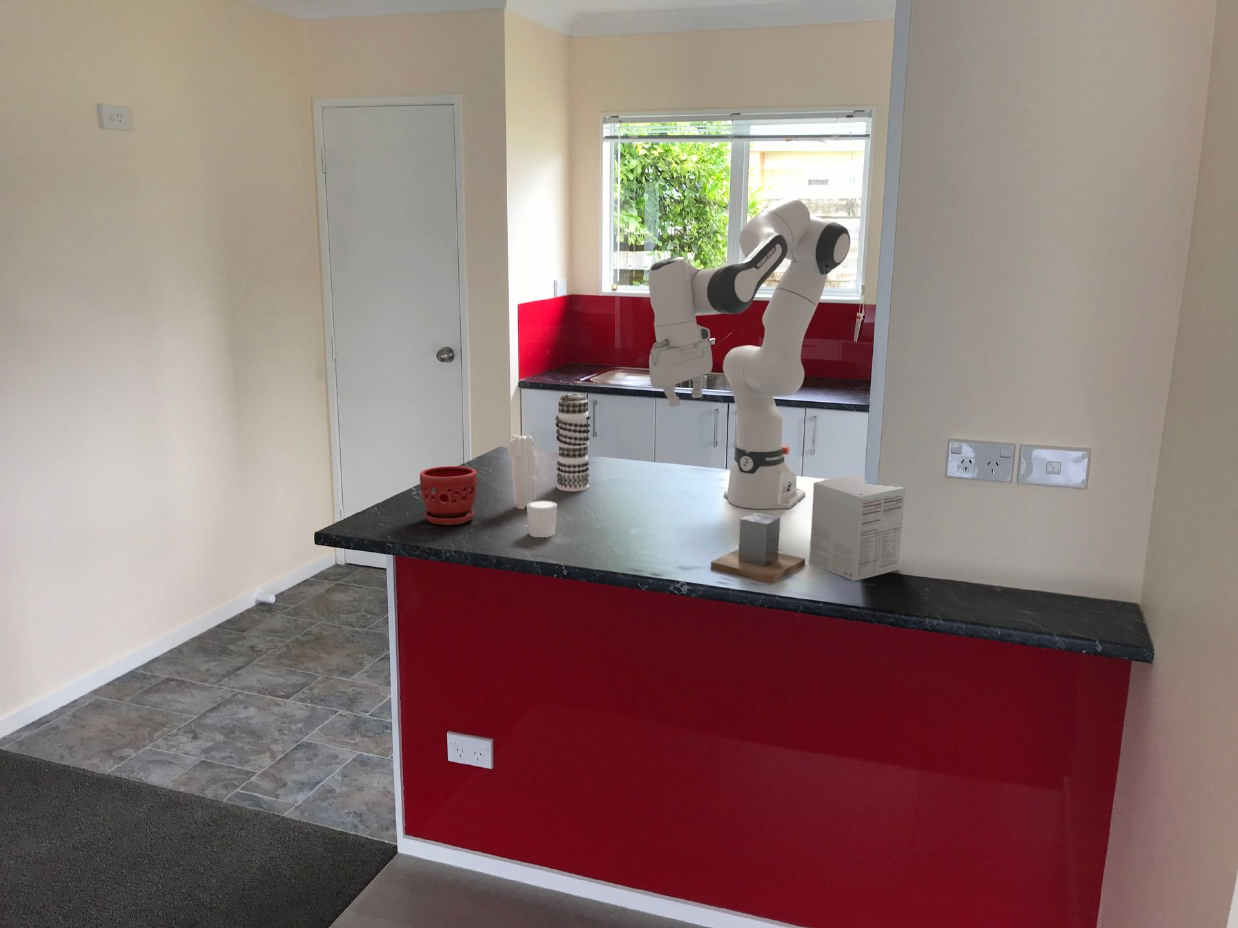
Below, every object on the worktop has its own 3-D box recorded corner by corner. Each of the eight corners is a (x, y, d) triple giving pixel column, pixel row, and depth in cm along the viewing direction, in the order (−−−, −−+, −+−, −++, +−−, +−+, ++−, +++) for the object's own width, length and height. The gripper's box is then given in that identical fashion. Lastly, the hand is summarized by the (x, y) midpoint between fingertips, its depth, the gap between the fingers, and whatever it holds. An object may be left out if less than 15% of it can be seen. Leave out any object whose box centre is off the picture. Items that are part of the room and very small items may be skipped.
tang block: (746, 551, 209) (747, 524, 207) (804, 565, 200) (806, 537, 199) (710, 568, 198) (711, 540, 197) (771, 584, 190) (772, 555, 188)
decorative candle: (570, 480, 265) (569, 390, 259) (597, 486, 260) (597, 393, 254) (548, 487, 258) (547, 394, 252) (576, 493, 253) (575, 398, 247)
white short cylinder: (533, 540, 215) (533, 509, 213) (522, 531, 221) (521, 502, 219) (562, 536, 218) (562, 506, 216) (549, 527, 224) (549, 498, 222)
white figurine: (513, 511, 236) (542, 509, 238) (511, 439, 232) (541, 437, 234) (506, 504, 242) (535, 501, 244) (504, 434, 238) (533, 432, 240)
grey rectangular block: (752, 553, 203) (753, 512, 201) (778, 559, 200) (780, 517, 198) (738, 561, 198) (740, 518, 196) (764, 567, 195) (766, 524, 193)
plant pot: (489, 519, 230) (488, 470, 227) (444, 531, 220) (442, 480, 217) (454, 508, 238) (453, 461, 235) (410, 519, 229) (408, 470, 226)
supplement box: (900, 570, 198) (907, 487, 194) (854, 582, 191) (860, 496, 187) (852, 552, 209) (858, 473, 205) (807, 562, 202) (812, 481, 198)
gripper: (663, 342, 193) (673, 410, 196) (713, 329, 210) (721, 392, 212) (637, 345, 197) (647, 412, 200) (688, 331, 213) (697, 393, 216)
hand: (686, 401), depth 206 cm, fingers open, 8 cm apart
